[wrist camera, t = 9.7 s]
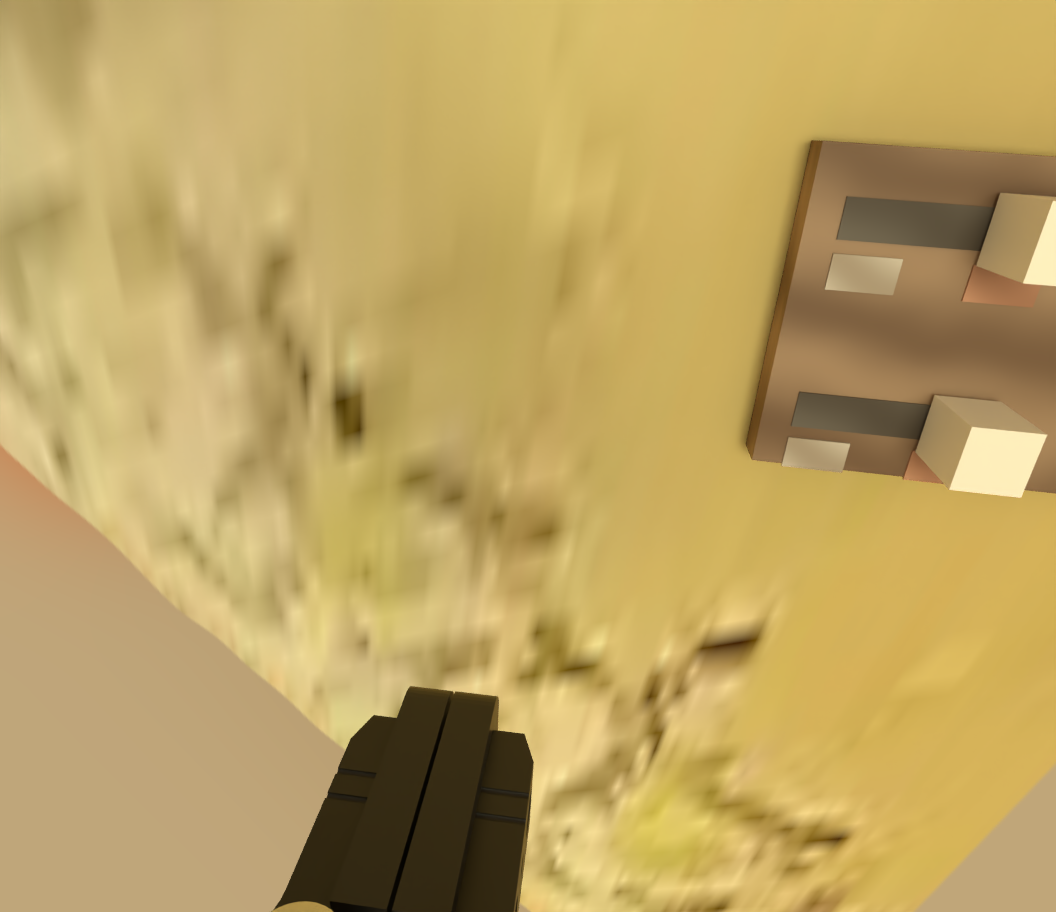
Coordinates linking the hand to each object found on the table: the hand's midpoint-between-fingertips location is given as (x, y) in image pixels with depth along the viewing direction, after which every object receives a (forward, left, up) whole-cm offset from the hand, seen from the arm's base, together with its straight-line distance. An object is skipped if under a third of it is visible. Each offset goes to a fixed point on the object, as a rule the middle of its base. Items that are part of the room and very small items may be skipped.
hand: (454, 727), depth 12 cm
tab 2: (+2, +19, -25) cm, 31 cm away
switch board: (-2, +19, -27) cm, 33 cm away
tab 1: (-7, +19, -25) cm, 32 cm away
